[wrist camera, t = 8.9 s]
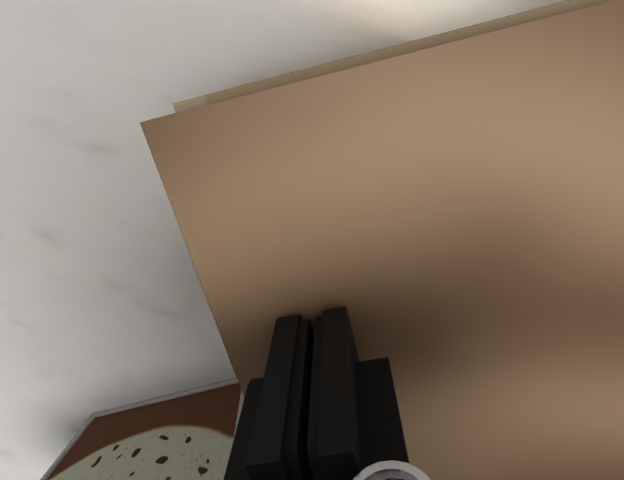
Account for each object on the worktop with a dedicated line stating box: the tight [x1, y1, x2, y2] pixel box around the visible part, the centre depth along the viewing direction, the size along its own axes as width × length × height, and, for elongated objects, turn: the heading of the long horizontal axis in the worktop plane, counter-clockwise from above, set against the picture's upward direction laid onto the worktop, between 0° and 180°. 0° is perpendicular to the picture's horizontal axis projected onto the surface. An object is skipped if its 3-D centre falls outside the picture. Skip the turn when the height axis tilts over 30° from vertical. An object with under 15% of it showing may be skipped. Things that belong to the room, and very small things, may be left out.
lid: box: [140, 0, 624, 480], centre depth 10 cm, size 14×16×1 cm
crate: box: [173, 0, 611, 113], centre depth 15 cm, size 14×16×7 cm
